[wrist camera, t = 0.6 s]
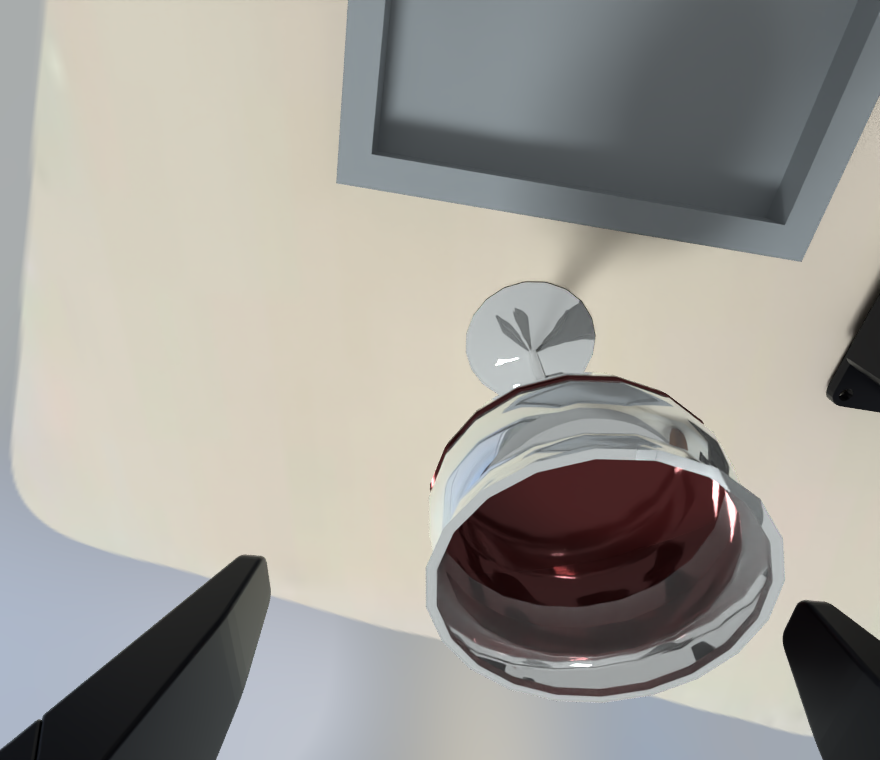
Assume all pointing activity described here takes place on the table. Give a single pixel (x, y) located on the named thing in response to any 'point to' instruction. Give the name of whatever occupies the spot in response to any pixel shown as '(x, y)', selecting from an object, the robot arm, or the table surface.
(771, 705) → the table surface
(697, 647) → the wineglass
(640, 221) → the serving tray
